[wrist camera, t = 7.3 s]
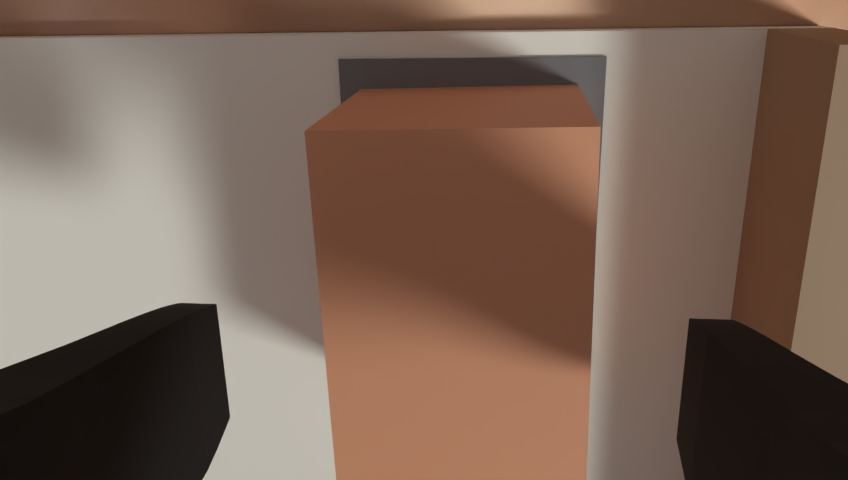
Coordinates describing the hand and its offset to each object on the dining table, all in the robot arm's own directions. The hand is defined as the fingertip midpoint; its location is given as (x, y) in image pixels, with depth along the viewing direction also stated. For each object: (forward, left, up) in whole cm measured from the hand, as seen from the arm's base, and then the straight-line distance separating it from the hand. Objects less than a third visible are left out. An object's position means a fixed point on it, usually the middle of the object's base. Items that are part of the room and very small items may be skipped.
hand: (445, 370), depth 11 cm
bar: (0, 0, -6) cm, 6 cm away
